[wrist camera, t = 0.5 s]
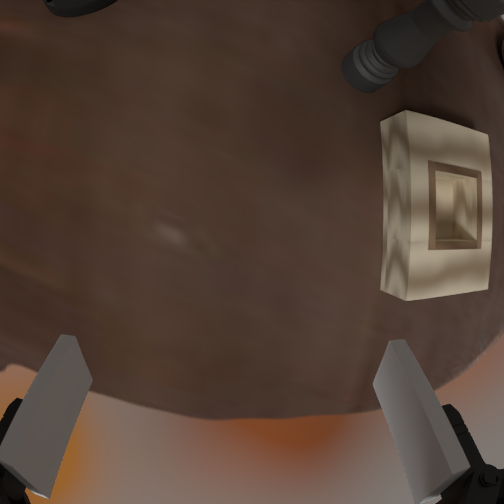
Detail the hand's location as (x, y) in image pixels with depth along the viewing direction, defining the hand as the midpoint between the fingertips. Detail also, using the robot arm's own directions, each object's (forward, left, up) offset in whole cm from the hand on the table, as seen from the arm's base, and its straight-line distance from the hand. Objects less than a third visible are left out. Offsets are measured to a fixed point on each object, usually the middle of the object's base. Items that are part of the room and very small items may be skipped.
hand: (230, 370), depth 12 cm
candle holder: (-26, +20, -24) cm, 40 cm away
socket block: (-8, +30, -24) cm, 39 cm away
